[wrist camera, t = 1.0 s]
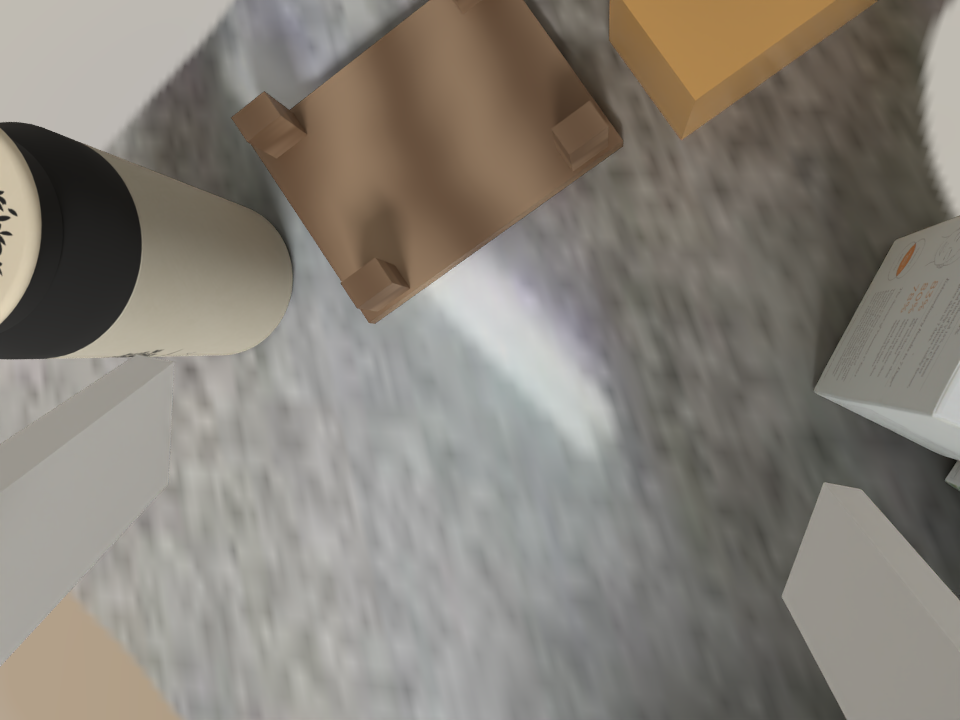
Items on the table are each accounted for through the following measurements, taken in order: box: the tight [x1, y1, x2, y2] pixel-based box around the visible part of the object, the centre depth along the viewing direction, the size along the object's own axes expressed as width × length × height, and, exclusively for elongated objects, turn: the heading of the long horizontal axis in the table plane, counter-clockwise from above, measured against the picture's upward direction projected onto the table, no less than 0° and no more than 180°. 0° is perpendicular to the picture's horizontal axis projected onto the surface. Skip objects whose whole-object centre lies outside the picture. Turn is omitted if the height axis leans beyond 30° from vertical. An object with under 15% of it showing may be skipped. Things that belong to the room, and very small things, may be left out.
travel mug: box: [0, 122, 293, 359], centre depth 31 cm, size 8×8×18 cm
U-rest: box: [231, 0, 623, 324], centre depth 36 cm, size 15×11×4 cm
